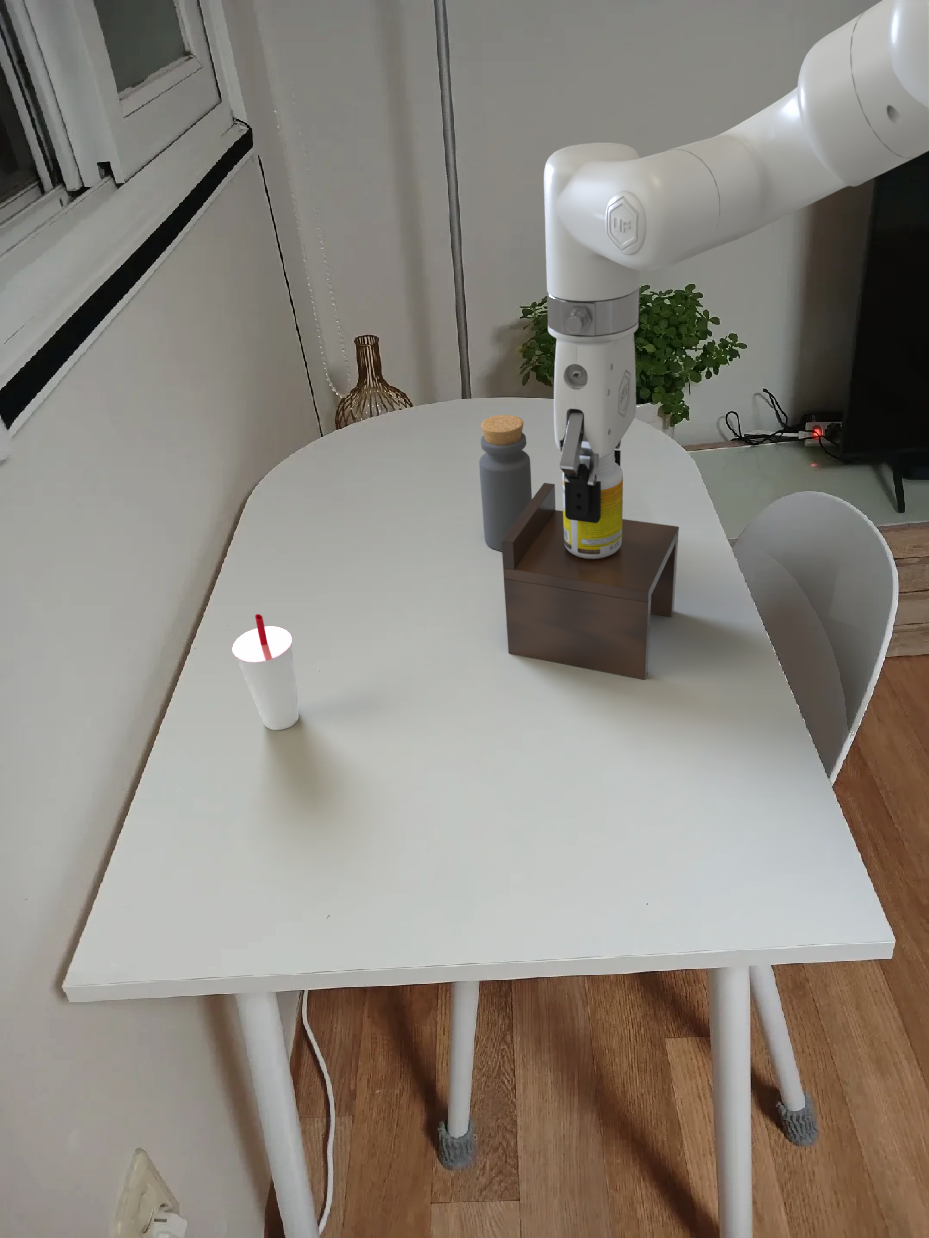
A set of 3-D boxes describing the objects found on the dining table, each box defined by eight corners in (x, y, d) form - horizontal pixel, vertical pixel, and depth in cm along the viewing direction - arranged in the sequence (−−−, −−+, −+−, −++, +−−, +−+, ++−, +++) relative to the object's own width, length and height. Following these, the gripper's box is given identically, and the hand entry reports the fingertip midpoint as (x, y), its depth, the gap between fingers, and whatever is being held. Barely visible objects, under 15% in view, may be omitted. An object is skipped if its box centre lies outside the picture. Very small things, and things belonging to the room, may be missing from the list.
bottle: (487, 554, 112) (478, 436, 103) (482, 529, 117) (474, 415, 108) (536, 549, 112) (532, 430, 103) (529, 524, 117) (525, 409, 108)
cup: (320, 716, 90) (297, 613, 83) (273, 745, 88) (245, 641, 81) (288, 692, 94) (264, 591, 87) (242, 719, 91) (213, 617, 84)
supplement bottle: (634, 545, 92) (636, 448, 86) (593, 568, 89) (592, 469, 83) (592, 526, 95) (592, 431, 89) (552, 547, 93) (548, 450, 87)
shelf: (673, 610, 100) (680, 499, 92) (644, 679, 91) (649, 563, 83) (547, 589, 105) (543, 482, 97) (508, 653, 96) (501, 540, 89)
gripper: (607, 349, 71) (606, 555, 82) (662, 281, 84) (655, 467, 94) (513, 343, 74) (523, 543, 84) (580, 278, 87) (582, 459, 97)
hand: (593, 501), depth 89 cm, fingers closed on supplement bottle, 5 cm apart
